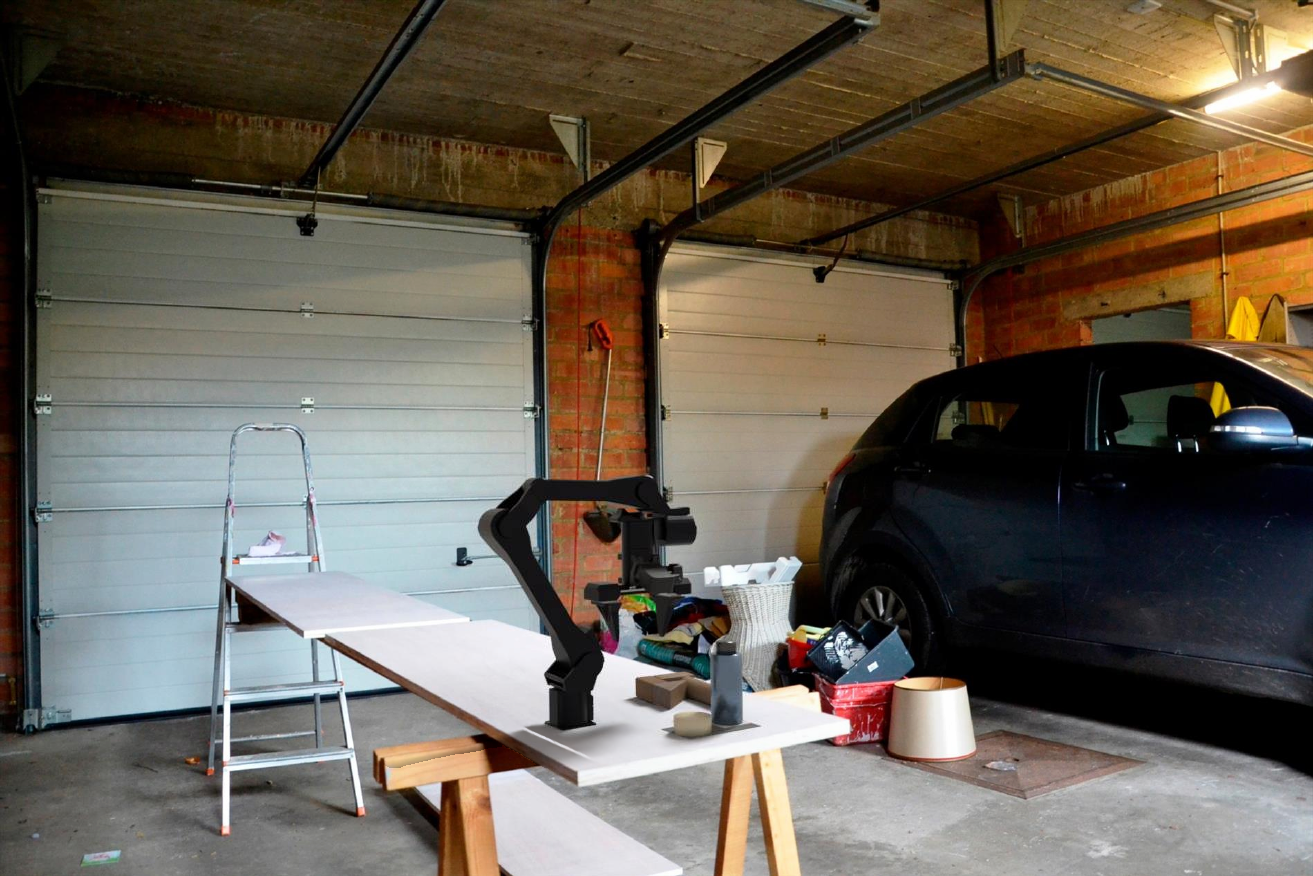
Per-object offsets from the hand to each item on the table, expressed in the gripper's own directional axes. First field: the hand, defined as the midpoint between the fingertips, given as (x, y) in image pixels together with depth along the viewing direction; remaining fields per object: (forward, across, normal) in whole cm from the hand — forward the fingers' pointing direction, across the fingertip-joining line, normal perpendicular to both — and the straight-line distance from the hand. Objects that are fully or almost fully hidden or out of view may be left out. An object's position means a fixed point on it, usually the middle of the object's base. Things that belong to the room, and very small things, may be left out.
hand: (639, 639), depth 172 cm
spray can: (+12, +8, -14) cm, 20 cm away
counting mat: (+13, +4, -15) cm, 20 cm away
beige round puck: (+13, 0, -16) cm, 20 cm away
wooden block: (+11, +13, +13) cm, 22 cm away
